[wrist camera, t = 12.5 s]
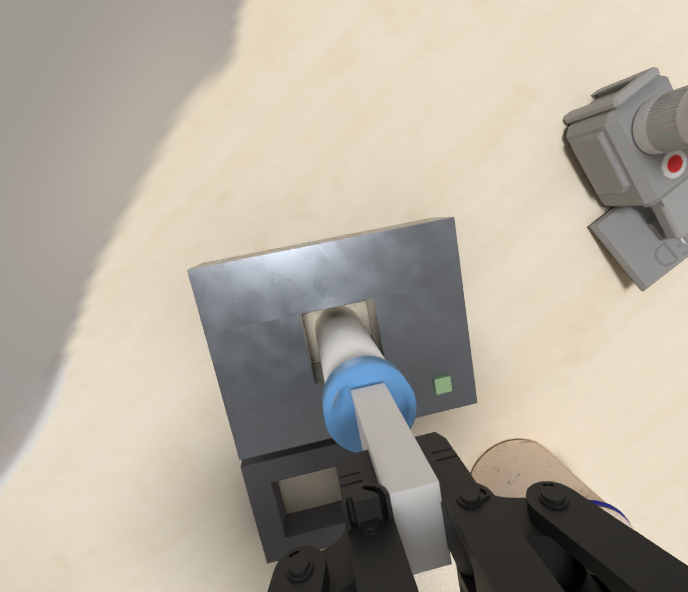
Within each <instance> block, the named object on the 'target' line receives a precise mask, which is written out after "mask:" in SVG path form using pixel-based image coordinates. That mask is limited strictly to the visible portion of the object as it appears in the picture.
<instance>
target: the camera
mask: <svg viewBox="0 0 688 592" xmlns="http://www.w3.org/2000/svg"><path fill="white" fill-rule="evenodd" d="M659 73H660V72H659V70H658V68H655V67H652V68H650V69H648V70H645V71H643V72H640V73H638V74H635V75H633V76H631V77H628V78H626V79H623V80H621V81H618V82H616V83H613V84H611V85H609V86H606V87H604V88H601V89H599V90H597V91H596V92H595V93H593V94H592V96H594V95H597V96H598V98H596V99H595V100H594V101H593V102H591V103H590V104H589V105H587V106H584V107H581V108H579V109H576V110H573V111H571V112H569V113H568V114H567V115H566V116H565V118H564V121H565V123H566V124H571V123H572V124H571V125H570V126H569V127H568V131H567V136H566V138H567V140H568V142H569V144H570V145H571V147H572V150H573V152H574V153H575V155H576V157H577V159H578V161H579V163H580V164H581V166H582V168H583V170H584V172H585V173H586V175H587V177H588V179H589V181H590V182H591V184H592V186H593V188H594V190H595V192H596V193H597V195H598V197H599V198H600V200H601V202H602V204H603V205H605V206H615V207H613V208H612V209H611V210H610V211H608V212H607V213H606V214H604V215H603V216H602V217H601V218H599V219H598V220H597V221H596V222H594V223H593V224H592V225H590V226H589V228H590V229H591V230H592V231H593V233H594V234H595V235H596V236H597V237H598V239H599V240H600V241H601V242H602V244H603V245H604V246H605V247H606V248H607V250H608V251H609V252H610V253H611V255H612V256H613V257H614V258H615V259H616V261H617V262H618V263H619V264H620V266H621V267H622V268H623V269H624V270H625V272H626V273H627V274H628V275H629V277H630V278H631V279H632V280H633V282H634V283H635V284H636V285H637V286H638V288H639V289H640V290H641V291H644V290H646V289H647V288H648V287H649V286H651V285H652V284H653V283H655V282H656V281H657V280H658V279H660V278H661V277H662V276H664V275H665V274H666V273H668V272H669V271H670V270H671V269H673V268H674V267H675V266H677V265H678V264H679V263H680V262H682V261H683V260H684V259H686V258H687V257H688V86H685V87H682V88H679V89H675V90H673V88H672V86H671V84H670V82H669V79H668V77H665V76H661V75H659Z"/></svg>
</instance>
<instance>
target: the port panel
mask: <svg viewBox="0 0 688 592" xmlns="http://www.w3.org/2000/svg"><path fill="white" fill-rule="evenodd" d="M187 271H188V275H189V278H190V282H191V286H192V289H193V293H194V297H195V300H196V304H197V307H198V311H199V315H200V318H201V322H202V325H203V329H204V333H205V336H206V340H207V344H208V347H209V351H210V354H211V358H212V362H213V365H214V369H215V373H216V376H217V380H218V383H219V387H220V391H221V394H222V398H223V402H224V405H225V409H226V412H227V416H228V420H229V423H230V427H231V431H232V434H233V438H234V441H235V445H236V449H237V452H238V456H239V459H240V460H243V459H247V458H251V457H255V456H259V455H263V454H268V453H272V452H276V451H280V450H284V449H288V448H292V447H297V446H301V445H305V444H309V443H313V442H317V441H322V440H326V439H330V438H332V437H331V435H330V434H329V432H328V430H327V427H326V424H325V418H324V412H323V405H322V392H323V388H324V385H325V381H324V376H323V370H322V365H321V362H319V363H314V364H312V359H311V354H310V350H309V345H308V341H307V336H306V332H305V327H304V322H303V318H302V314H304V313H308V312H313V311H318V310H322V309H327V308H332V307H337V306H341V305H346V304H351V303H355V302H360V301H365V300H366V303H367V309H368V314H369V320H370V325H371V331H372V337H373V341H374V343H375V344H376V346H377V347H378V349H379V351H380V352H381V354H382V355H383V357H384V358H385V359H386V360H388V361H389V362H391V363H392V364H394V365H395V366H396V367H397V368H398V369H399V371H400V372H401V373H402V375H403V376H404V377H405V379H406V380H407V382H408V383H409V385H410V386H411V388H412V390H413V392H414V395H415V398H416V406H417V408H416V416H415V418H417V417H421V416H425V415H429V414H434V413H438V412H442V411H446V410H450V409H454V408H458V407H463V406H467V405H471V404H475V403H477V397H476V389H475V381H474V372H473V364H472V356H471V348H470V340H469V332H468V324H467V316H466V308H465V300H464V292H463V284H462V276H461V268H460V260H459V252H458V244H457V236H456V228H455V220H454V217H440V218H429V219H424V220H419V221H414V222H409V223H404V224H399V225H394V226H389V227H384V228H379V229H374V230H369V231H363V232H358V233H353V234H348V235H343V236H338V237H333V238H328V239H323V240H318V241H313V242H308V243H303V244H298V245H292V246H287V247H282V248H277V249H272V250H267V251H262V252H257V253H252V254H247V255H242V256H237V257H232V258H227V259H222V260H216V261H211V262H206V263H202V264H199V265H197V266H195V267H193V268H191V269H188V270H187Z"/></svg>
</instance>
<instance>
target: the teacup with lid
mask: <svg viewBox="0 0 688 592" xmlns="http://www.w3.org/2000/svg"><path fill="white" fill-rule="evenodd" d="M471 475H472V477H473V478H474V480H475V481H476V483H479V484H481V485H483V486H486V487H487V488H488V489H489V490H490V491H492V492H493V494H494V495H496V496H500V497H512V498H526V491H527V488H529V487H530V486H531V485H532V484H534V483H537V482H540V481H553V482H557V483H561V484H564V485H566V486H568V487H570V488H572V489H573V490H575V491H576V492H578V493H579V494H581V495H582V496H584V497H585V498H587V499H588V500H590V501H591V502H593V503H594V504H596V505H597V506H599V507H600V508H602V509H603V510H605V511H606V512H608V513H609V514H611V515H612V516H614V517H615V518H617V519H618V520H620V521H621V522H623V523H624V524H626V525H627V526H629V527H630V528H632V526H631V524H630V523H629V521H628V519H627V518H626V517H625V516H624V514H623V513H622V512H620V511H619V510H618V509H617V508H615V507H614V506H612V505H610V504H607V503H605V502H604V501H603V500H602V499H601V498H600V497H599V496H598V495H597V494H596V493H594V492H593V491H592V490H591V489H590V488H589V487H588V486H587V485H586V484H584V483H583V482H582V481H581V480H580V479H579V478H578V477H577V476H576V475H575V474H573V473H572V472H571V471H570V470H569V469H568V468H567V467H566V466H565V465H564V464H562V463H561V462H560V461H559V460H558V459H557V458H556V457H555V456H554V455H553V454H551V453H550V452H549V451H548V450H547V449H546V448H544V447H543V446H541V445H540V444H538V443H535V442H532V441H528V440H512V441H508V442H504V443H502V444H499V445H497V446H495V447H494V448H492V449H491V450H489V451H488V452H487V453H485V454H484V455H483V456H482V457H481V459H480V460H479V461H478V463H477V464H476V466H475V467H474V469H473V472H472V474H471ZM632 529H633V528H632Z"/></svg>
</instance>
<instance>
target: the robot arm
mask: <svg viewBox="0 0 688 592" xmlns="http://www.w3.org/2000/svg"><path fill="white" fill-rule="evenodd" d="M351 394H352V399H353V404H354V409H355V414H356V419H357V425H358V430H359V435H360V440H361V445H362V448H363V451H360V452H356V453H352V454H348V455H344V456H341V457H340V460H339V462H338V465H337V471H338V477H339V482H340V488H341V494H342V504H341V506H342V511H343V515H344V520H345V524H346V526H345V529H344V532H343V533H342V535H341V537H340V538H339V539H338V540H337V541H336V542H335V543H334V544H332V545H331V546H329V547H328V548H326V549H324V550H323V551H321V550H319V549H318V548H316V547H314V546H308V545H304V546H300V547H295V548H294V549H292V550H290V551H288V552H287V553H286V554H285V555H284V556H283V557H282V558H281V559H280V560H279V561H278V563H277V565H276V567H275V569H274V573H273V576H272V579H271V582H270V585H269V589H268V592H419V591H418V588H417V585H416V582H415V579H414V576H413V574H417V573H421V572H424V571H428V570H432V569H435V568H439V567H442V566H446V565H450V564H452V563H451V557H450V552H451V554H452V556H453V558H454V560H455V563H456V567H457V573H458V580H459V587H460V592H688V566H687V565H686V564H684V563H683V562H681V561H680V560H678V559H677V558H675V557H674V556H672V555H671V554H669V553H668V552H666V551H665V550H663V549H662V548H660V547H659V546H657V545H656V544H654V543H653V542H651V541H650V540H648V539H647V538H645V537H644V536H642V535H641V534H639V533H638V532H636V531H635V530H633V529H632V528H630V527H629V526H627V525H626V524H624V523H623V522H621V521H620V520H618V519H617V518H615V517H614V516H612V515H611V514H609V513H608V512H606V511H605V510H603V509H602V508H600V507H599V506H597V505H596V504H594V503H593V502H591V501H590V500H588V499H587V498H585V497H584V496H582V495H581V494H579V493H578V492H576V491H575V490H573V489H572V488H570V487H568V486H566V485H564V484H561V483H557V482H553V481H540V482H537V483H534V484H532V485H531V486H530V487H529V488H527V491H526V498H512V497H500V496H496V495H494V494H493V492H492V491H490V490H489V489H488V488H487V487H486V486H483V485H481V484H479V483H476V481H475V480H474V478H473V477H472V475H471V474H470V472H469V471H468V470H467V468H466V467H465V465H464V464H463V462H462V461H461V459H460V458H459V457H458V456H457V454H456V452H455V451H454V449H452V447H451V445H450V444H449V442H448V441H447V439H446V438H444V437H443V436H441V435H439V434H438V433H436V432H433V433H429V434H425V435H421V436H417V437H414V436H413V434H412V432H411V430H410V428H409V427H408V425H407V423H406V421H405V419H404V418H403V416H402V414H401V412H400V410H399V409H398V407H397V405H396V403H395V401H394V399H393V398H392V396H391V394H390V392H389V390H388V389H387V387H386V385H385V383H381V384H376V385H372V386H368V387H364V388H359V389H355V390H351Z"/></svg>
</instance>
